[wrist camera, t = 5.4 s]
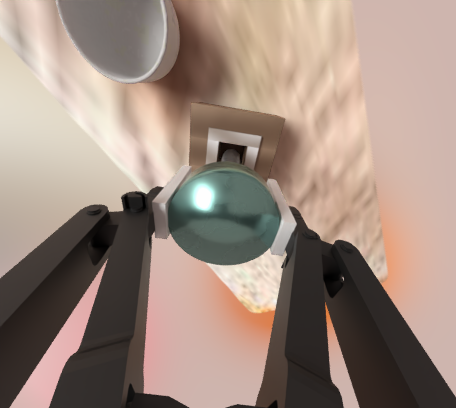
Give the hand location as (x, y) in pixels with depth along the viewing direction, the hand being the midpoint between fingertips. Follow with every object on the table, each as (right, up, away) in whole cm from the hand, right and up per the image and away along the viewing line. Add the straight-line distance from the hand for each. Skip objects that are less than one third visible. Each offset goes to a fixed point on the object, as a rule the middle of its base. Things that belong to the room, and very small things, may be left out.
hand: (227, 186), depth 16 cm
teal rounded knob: (0, +5, +8) cm, 9 cm away
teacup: (-12, +21, +7) cm, 26 cm away
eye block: (+1, +8, +14) cm, 16 cm away
